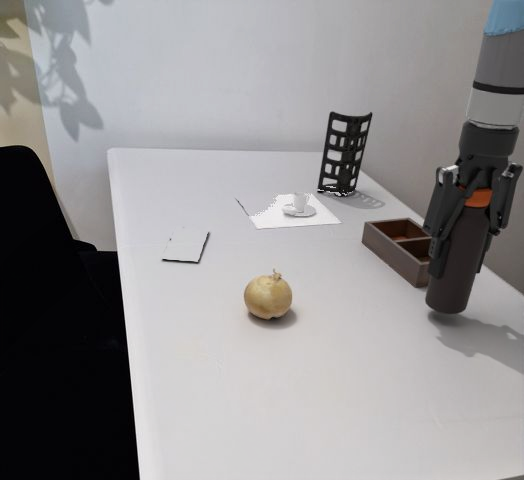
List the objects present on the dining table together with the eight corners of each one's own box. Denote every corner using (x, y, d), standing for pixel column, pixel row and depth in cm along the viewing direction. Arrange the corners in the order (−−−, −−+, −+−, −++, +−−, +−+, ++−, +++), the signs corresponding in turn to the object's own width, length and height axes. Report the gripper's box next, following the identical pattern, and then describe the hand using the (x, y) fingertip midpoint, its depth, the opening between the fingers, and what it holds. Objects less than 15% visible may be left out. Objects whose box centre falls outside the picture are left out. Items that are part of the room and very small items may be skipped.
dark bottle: (466, 299, 96) (499, 183, 85) (465, 318, 91) (500, 197, 80) (426, 292, 98) (452, 177, 87) (422, 310, 93) (450, 190, 81)
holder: (347, 183, 150) (362, 105, 137) (363, 195, 145) (380, 116, 132) (312, 188, 146) (324, 108, 133) (327, 201, 141) (341, 119, 128)
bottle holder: (404, 237, 123) (409, 217, 121) (463, 280, 107) (469, 258, 105) (361, 242, 120) (364, 221, 117) (415, 287, 104) (420, 265, 101)
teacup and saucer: (284, 219, 128) (286, 201, 126) (274, 206, 134) (275, 189, 132) (320, 216, 130) (322, 199, 128) (308, 204, 137) (310, 187, 134)
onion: (287, 328, 90) (291, 289, 86) (238, 321, 91) (240, 282, 87) (293, 303, 97) (297, 266, 93) (247, 298, 98) (249, 260, 94)
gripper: (529, 113, 84) (488, 255, 97) (416, 119, 78) (388, 269, 91) (567, 126, 78) (518, 275, 91) (448, 133, 72) (414, 291, 85)
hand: (453, 272), depth 91 cm, fingers closed on dark bottle, 7 cm apart
